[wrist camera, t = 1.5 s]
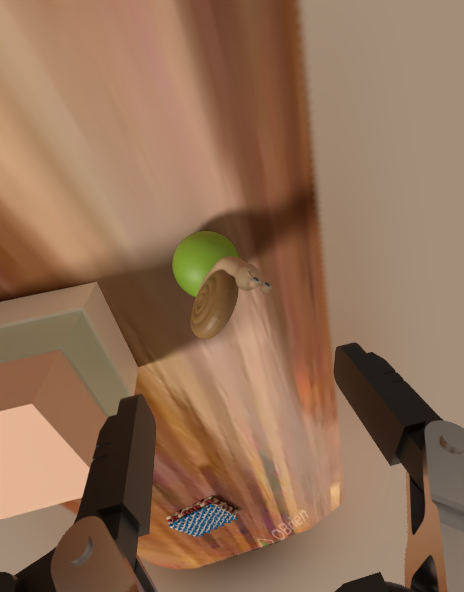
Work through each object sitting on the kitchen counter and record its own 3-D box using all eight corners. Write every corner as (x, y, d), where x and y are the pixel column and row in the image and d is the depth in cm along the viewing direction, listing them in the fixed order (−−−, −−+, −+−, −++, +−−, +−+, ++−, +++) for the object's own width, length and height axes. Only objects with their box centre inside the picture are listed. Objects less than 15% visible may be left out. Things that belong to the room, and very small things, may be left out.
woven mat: (211, 491, 48) (212, 504, 46) (238, 506, 54) (240, 519, 52) (164, 514, 49) (163, 528, 48) (195, 527, 55) (196, 539, 53)
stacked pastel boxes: (-36, 309, 22) (-210, 453, 12) (96, 281, 23) (36, 395, 13) (35, 392, 28) (-43, 534, 18) (138, 367, 29) (118, 490, 19)
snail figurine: (250, 230, 23) (307, 303, 13) (215, 288, 26) (241, 386, 16) (195, 199, 21) (213, 258, 11) (162, 265, 23) (153, 363, 13)
